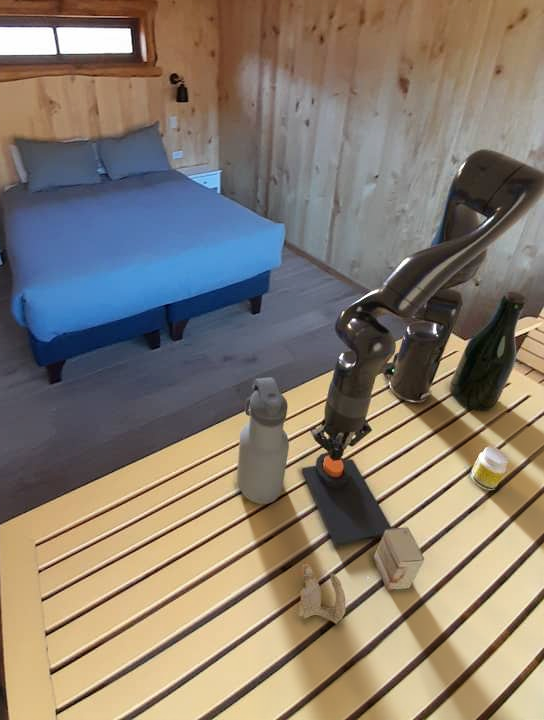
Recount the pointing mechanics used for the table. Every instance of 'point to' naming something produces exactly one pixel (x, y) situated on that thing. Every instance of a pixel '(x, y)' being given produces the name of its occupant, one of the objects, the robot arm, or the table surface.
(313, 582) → the beige figurine
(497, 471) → the supplement bottle
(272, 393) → the water bottle
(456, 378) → the dark green wine bottle
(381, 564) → the white medicine box
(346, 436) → the robot arm
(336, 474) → the button
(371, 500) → the black button panel
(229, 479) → the table surface
